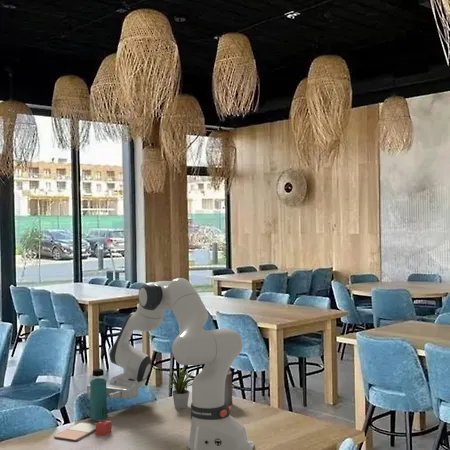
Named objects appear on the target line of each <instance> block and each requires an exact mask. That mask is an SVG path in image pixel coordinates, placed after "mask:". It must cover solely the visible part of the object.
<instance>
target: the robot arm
mask: <svg viewBox="0 0 450 450" xmlns="http://www.w3.org/2000/svg"><path fill="white" fill-rule="evenodd" d="M166 311H172V312H173V315H174V317H175V320H176V322H177V323H178V328H179V331H178V335H177V336H176V337H175V338H174V341H173V343H172V345H171V346H172V347H171V348H172V349H171V351H172V352H171V353H172V357H173V359H174V361H176V362H177V363H178V364H179V365H182V366H199V365H204V366H203V368H202V370H201V371H200V372H199V373H198V374H196V375H195V377H194V380H192V383H191V384H192V385H191V403H190V420H191V425H190V432H189V436H188V437H189V438H188V441H187V448H188V449H189V450H254V448H255V445H254V444H255V443H254V441H253V440H250V439H248V435H247V430H246V428H245V426H244V425H242V424H241V423H240V422H238V420H237V419H235V418H234V417H233V416H232V415H231V413H230V411H231V410H232V405H231V406H229V407H228V406H227V405H226V404H225V402H224V396H225V380H226V376H227V373H228V370H230V368H231V366H232V365H233V363H234V361H235V359H236V358H238V356H240V354H241V352H242V349H243V340H242V339H243V338H242V337H241V334H240V333H238V331H237V330H235V329H232V328H231V329H230V328H217V329H216V328H215V329H209V330H208V329H204V328H203V327H204V326H205V325H206V324H207V322H208V319H209V312H208V309H207V308H206V306H205V304H204V302H203V301H202V299H201V296H200V295H199V293H198V291H197V290H196V289H195V287H194V286H193V285H192V283H191V282H190V281H189V280H188V279H186V278H183V277H177V278H175V279H172V280H159V281H155V282H153V281H150V282H146V283H143V284H142V285H141V286H140V288H139V290H138V306H137V309H136V310H135V312H134V311H133V312H131V313H129V315H128V316H127V317H126V319H125V320H124V323H123V325H122V327H121V329H120V331H119V333H118V336H117V338H116V340H115V342H114V343H113V344H112V347H111V348H110V350H109V352H108V353H109V354H108V355H109V359H110V362H111V363H112V364H114V365H116V366H118V367H120V368H121V369H123V370H125V371H124V372H123V373H120V374H116V375H115V376H113V377H111V379H110V380H109V381H107V382H106V388H107V398H108V399H110V400H112V399H124V400H125V399H126V400H130V399H133V398H136V397H139V389H141V388H142V387H143V386H144V385H145V384H146V382H147V379H148V377H149V375H150V373H151V371H152V357H151V356H150V355H148V354H146V353H145V352H143V351H142V350H139V349H137V348H136V347H134V346H133V345H132V344H131V343H130V342H129V341H130V339H131V337H132V335H133V333H134V332H135V331H141V332H152V331H155V330H157V329H158V328H160V326H161V325H162V324H163V320H164V317H165V313H166ZM86 394H87V396H88V397H90V383H88V384H87V385H86Z"/></svg>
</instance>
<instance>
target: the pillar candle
mask: <svg viewBox="0 0 450 450" xmlns="http://www.w3.org/2000/svg"><path fill="white" fill-rule="evenodd" d="M232 374H233V372H232V371H231V370H230V369H229V370H228V373H227V376H226V380H225V396H224V402H225V404H226V405H227V406H228V407H229V406H231V407H232V406H233V379H232V377H233V375H232Z"/></svg>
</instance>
